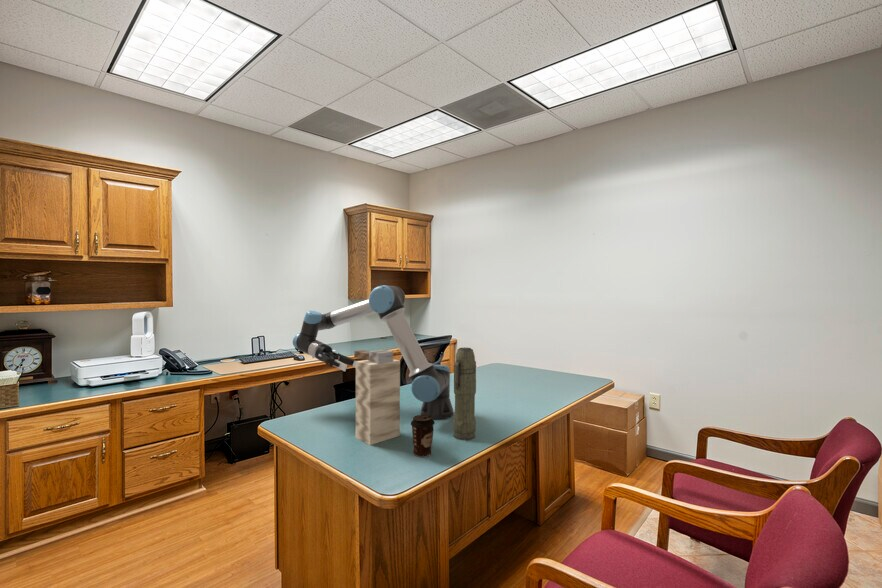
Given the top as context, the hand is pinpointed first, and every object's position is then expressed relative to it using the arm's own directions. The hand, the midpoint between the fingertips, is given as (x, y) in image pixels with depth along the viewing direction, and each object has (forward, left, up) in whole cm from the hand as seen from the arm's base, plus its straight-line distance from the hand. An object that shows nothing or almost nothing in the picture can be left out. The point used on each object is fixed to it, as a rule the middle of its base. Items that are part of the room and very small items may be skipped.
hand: (355, 368), depth 179 cm
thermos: (-48, +11, -24) cm, 55 cm away
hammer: (-11, +13, +7) cm, 18 cm away
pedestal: (-14, +16, -23) cm, 32 cm away
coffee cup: (-34, +30, -24) cm, 51 cm away
